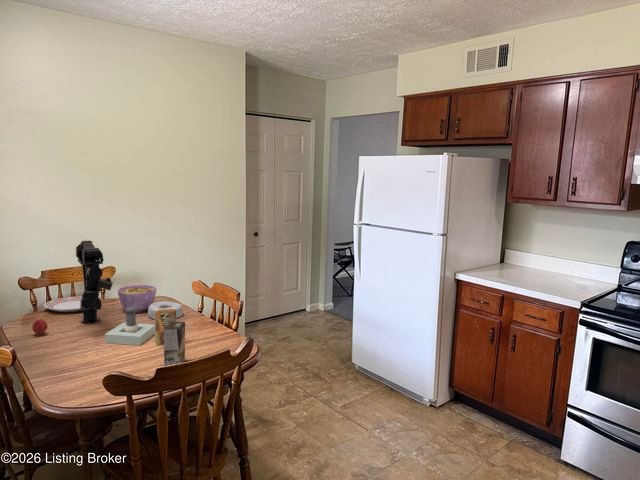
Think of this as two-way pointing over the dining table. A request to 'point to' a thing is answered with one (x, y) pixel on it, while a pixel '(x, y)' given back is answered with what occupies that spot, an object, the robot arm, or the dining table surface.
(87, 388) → the dining table surface
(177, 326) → the coffee box
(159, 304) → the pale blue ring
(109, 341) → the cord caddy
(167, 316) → the candy box
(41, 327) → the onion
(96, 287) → the robot arm
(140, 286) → the bowl of food
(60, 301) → the dinner plate
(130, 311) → the pepper grinder
